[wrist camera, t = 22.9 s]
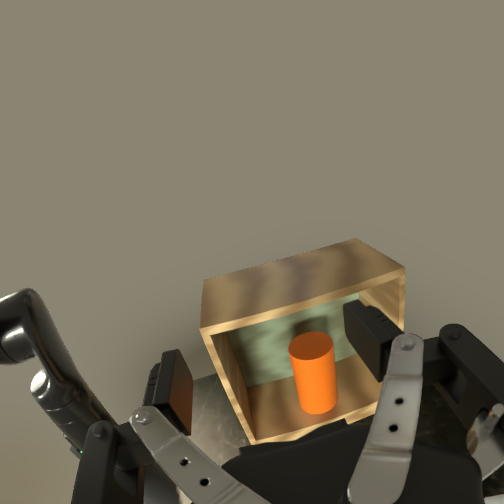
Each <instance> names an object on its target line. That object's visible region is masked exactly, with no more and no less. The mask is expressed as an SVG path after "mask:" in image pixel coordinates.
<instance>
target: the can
mask: <svg viewBox="0 0 504 504" xmlns="http://www.w3.org/2000/svg"><path fill="white" fill-rule="evenodd" d="M288 352H289V357H290V361H291V365H292V370H293V374H294V379H295V384H296V388H297V393H298V397H299V402H300V406H301V408H302V409H303V410H304V411H306V412H308V413H311V414H322V413H325V412H327V411H329V410H331V409H332V408H333V407H334V406H335V405H336V403H337V400H338V395H337V381H336V368H335V357H334V347H333V340H332V338H331V337H330V336H329V335H327V334H325V333H322V332H307V333H304V334H301V335H299V336H297V337H295V338H294V339H293V340H292V341H291V342H290V344H289V346H288Z"/></svg>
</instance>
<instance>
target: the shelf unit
mask: <svg viewBox="0 0 504 504" xmlns="http://www.w3.org/2000/svg"><path fill="white" fill-rule="evenodd" d="M356 299H359V300H360V301H361V302H362V303H363V304H364V305H365V306H369V305H371V306H374V307H376V308H379V309H380V310H381V311H382V312H383V313H384V314H385V315H386V316H387V317H388V318H389V319H391V320H392V321H393V322H394V323H395V324H396V325H397V326H398V327H399V328H400V329H401V330H402V331H403V328H404V308H405V267H404V266H402V265H401V264H399V263H397V262H396V261H394V260H392V259H391V258H389V257H387V256H386V255H384V254H382V253H381V252H379V251H377V250H376V249H374V248H372V247H370V246H369V245H367V244H365V243H363V242H362V241H360V240H358V239H356V238H355V239H351V240H348V241H344V242H341V243H337V244H334V245H330V246H327V247H323V248H320V249H316V250H313V251H309V252H306V253H302V254H298V255H295V256H291V257H287V258H284V259H280V260H277V261H273V262H269V263H265V264H262V265H258V266H255V267H251V268H247V269H243V270H240V271H236V272H232V273H229V274H225V275H221V276H217V277H213V278H210V279H206V280H204V282H203V293H202V304H201V315H200V327H199V329H200V332H201V335H202V337H203V339H204V342H205V344H206V347H207V349H208V352H209V354H210V357H211V359H212V361H213V364H214V366H215V368H216V371H217V373H218V375H219V377H220V380H221V382H222V384H223V386H224V389H225V391H226V393H227V395H228V397H229V399H230V402H231V404H232V406H233V408H234V410H235V412H236V414H237V416H238V418H239V421H240V423H241V425H242V427H243V429H244V431H245V433H246V435H247V437H248V439H249V441H250V442H251V444H252V445H255V444H260V443H264V442H281V441H293V440H296V439H298V438H300V437H302V436H304V435H306V434H307V433H309V432H311V431H313V430H315V429H316V428H318V427H320V426H323V425H326V424H329V423H332V422H335V421H337V420H340V419H343V418H345V420H346V422H347V424H350V423H353V422H355V421H358V420H360V419H363V418H365V417H368V416H370V415H372V414H375V410H376V407H377V403H378V399H379V395H380V391H381V387H382V383H383V381H382V382H380V383H378V382H377V380H376V379H375V377H374V376H373V375H372V373H371V372H370V370H369V369H368V368H367V366H366V365H365V363H364V362H363V361H362V359H361V358H360V356H359V355H358V354H357V352H356V351H355V350H354V348H353V347H352V345H351V344H350V343H349V341H348V339H347V337H346V334H345V328H344V317H343V304H344V303H347V302H350V301H353V300H356ZM307 332H322V333H325V334H327V335H329V336H330V337H331V338H332V340H333V347H334V357H335V368H336V381H337V395H338V400H337V403H336V405H335V406H334V407H333V408H332V409H331V410H329V411H327V412H325V413H322V414H311V413H308V412H306V411H304V410H303V409H302V408H301V406H300V402H299V397H298V393H297V388H296V384H295V379H294V374H293V370H292V365H291V361H290V357H289V352H288V346H289V344H290V342H291V341H292V340H293V339H294V338H295V337H297V336H299V335H301V334H304V333H307Z"/></svg>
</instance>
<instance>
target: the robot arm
mask: <svg viewBox="0 0 504 504" xmlns="http://www.w3.org/2000/svg"><path fill="white" fill-rule="evenodd" d="M343 317H344V328H345V334H346V337H347V339H348V341H349V343H350V344H351V345H352V347H353V348H354V350H355V351H356V352H357V354H358V355H359V356H360V358H361V359H362V361H363V362H364V363H365V365H366V366H367V368H368V369H369V370H370V372H371V373H372V375H373V376H374V377H375V379H376V380H377V382H378V383H380V382H382V381H383V383H382V387H381V391H380V395H379V399H378V403H377V407H376V410H375V414H374V417H373V421H372V424H365V423H354V424H347V422H346V420H345V418H343V419H340V420H337V421H335V422H332V423H329V424H326V425H323V426H320V427H318V428H316V429H315V430H313V431H311V432H309V433H307V434H306V435H304V436H302V437H300V438H298V439H296V440H293V441H281V442H264V443H260V444H255V445H250V446H246V447H240V448H239V451H240V455H239V456H236V457H234V458H232V459H231V460H229V461H228V462H226V463H225V464H224V465H222V466H221V467H220V466H219V465H217V464H216V463H215V462H214V461H213V460H211V459H210V458H209V457H208V456H207V455H206V454H205V453H204V452H202V451H201V450H200V449H199V448H198V447H197V446H196V445H195V444H194V443H193V442H192V441H191V440H190V439H188V438H187V437H186V436H190V435H191V421H192V397H193V379H192V375H191V373H190V370H189V368H188V366H187V364H186V362H185V360H184V358H183V356H182V354H181V352H180V350H178V349H176V350H171V351H166V352H163V354H162V359H161V363H158V364H155V366H154V367H153V368H152V370H151V371H150V375H149V380H148V383H147V387H146V391H145V395H144V400H143V405H142V407H140V408H139V409H137V410H135V411H134V412H133V414H132V415H131V417H130V421H129V422H127V423H124V424H121V425H118V424H117V423H116V422H115V421H114V419H113V418H112V417H111V416H110V414H109V413H108V412H107V411H106V409H105V408H104V407H103V405H102V404H101V403H100V402H99V400H98V399H97V397H96V396H95V395H94V393H93V392H92V391H91V389H90V388H89V386H88V385H87V383H86V382H85V381H84V379H83V378H82V376H81V375H80V373H79V372H78V370H77V368H76V366H75V364H74V362H73V360H72V357H71V355H70V354H69V352H68V350H67V349H66V346H65V345H64V343H63V341H62V339H61V337H60V335H59V333H58V331H57V329H56V326H55V324H54V322H53V320H52V317H51V315H50V313H49V311H48V309H47V307H46V305H45V303H44V301H43V300H42V298H41V297H40V295H39V294H38V293H37V292H36V291H34V290H33V289H31V288H25V289H22V290H19V291H17V292H15V293H13V294H11V295H8V296H6V297H4V298H2V299H0V364H1V365H17V364H20V363H23V362H26V361H28V360H31V359H34V358H36V357H38V358H39V360H40V362H41V363H42V366H43V367H42V368H41V369H40V370H39V371H38V372H37V374H36V375H35V377H34V379H33V380H32V383H31V393H32V396H33V397H34V399H35V400H36V401H37V403H38V404H39V405H40V406H41V408H42V409H43V410H44V411H45V413H46V414H47V415H48V416H49V417H50V419H51V420H52V421H53V422H54V423H55V424H56V425H57V426H58V428H59V429H60V430H61V431H62V432H63V436H64V437H65V438H66V439H67V440H68V441H69V442H70V443H71V444H72V446H71V448H70V451H71V452H72V453H73V454H75V455H76V456H77V457H78V458H79V459H80V463H79V467H78V472H77V476H76V481H75V485H74V490H73V496H72V501H71V504H143V498H144V475H145V465H148V464H151V463H154V462H157V463H158V464H159V465H160V466H161V468H162V469H163V470H164V471H165V472H166V474H167V475H168V476H169V477H170V478H171V479H172V480H173V482H174V483H175V484H176V485H177V486H178V487H179V488H180V489H181V490H182V491H183V493H184V494H185V495H186V496H187V497H188V498H189V499H190V500H191V501H192V503H191V504H485V501H484V497H483V490H482V481H483V480H484V479H486V478H487V477H488V476H490V475H491V474H492V473H493V472H495V471H496V470H497V469H499V470H500V469H504V363H503V362H502V361H501V360H500V359H499V358H498V357H497V356H496V355H495V354H494V353H493V352H492V351H491V350H490V349H488V348H487V347H486V346H485V345H484V344H483V343H482V342H481V341H480V340H479V339H477V338H476V337H475V336H474V335H473V334H472V333H471V332H469V331H468V330H467V329H466V328H465V327H464V326H462V325H459V324H448V325H445V326H444V327H442V328H441V330H440V333H439V337H434V338H430V339H425V340H422V338H421V337H420V336H418V335H415V334H411V333H406V334H405V333H404V332H403V331H402V330H401V329H400V328H399V327H398V326H397V325H396V324H395V323H394V322H393V321H392V320H391V319H389V318H388V317H387V316H386V315H385V314H384V313H383V312H382V311H381V310H380V309H379V308H376V307H374V306H371V305H369V306H365V305H364V304H363V303H362V302H361V301H360V300H359V299H356V300H353V301H350V302H347V303H344V304H343ZM432 384H433V385H434V386H435V388H436V389H437V390H438V392H439V393H440V394H441V396H442V397H443V398H444V400H445V401H446V402H447V404H448V405H449V406H450V408H451V409H452V410H453V412H454V413H455V414H456V416H457V417H458V419H459V420H460V421H461V423H462V424H463V426H464V427H465V428H466V430H467V431H468V433H467V435H466V440H465V441H466V446H467V448H468V452H469V454H468V453H466V452H463V451H459V450H455V449H451V448H447V447H443V446H439V445H436V444H432V443H429V442H425V441H422V440H418V439H415V433H416V428H417V422H418V415H419V408H420V401H421V392H422V387H424V386H428V385H432Z"/></svg>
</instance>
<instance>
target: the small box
mask: <svg viewBox="0 0 504 504" xmlns="http://www.w3.org/2000/svg"><path fill="white" fill-rule="evenodd" d="M484 501H485V504H504V494H500V495H495V496H490V497H485V498H484Z"/></svg>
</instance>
